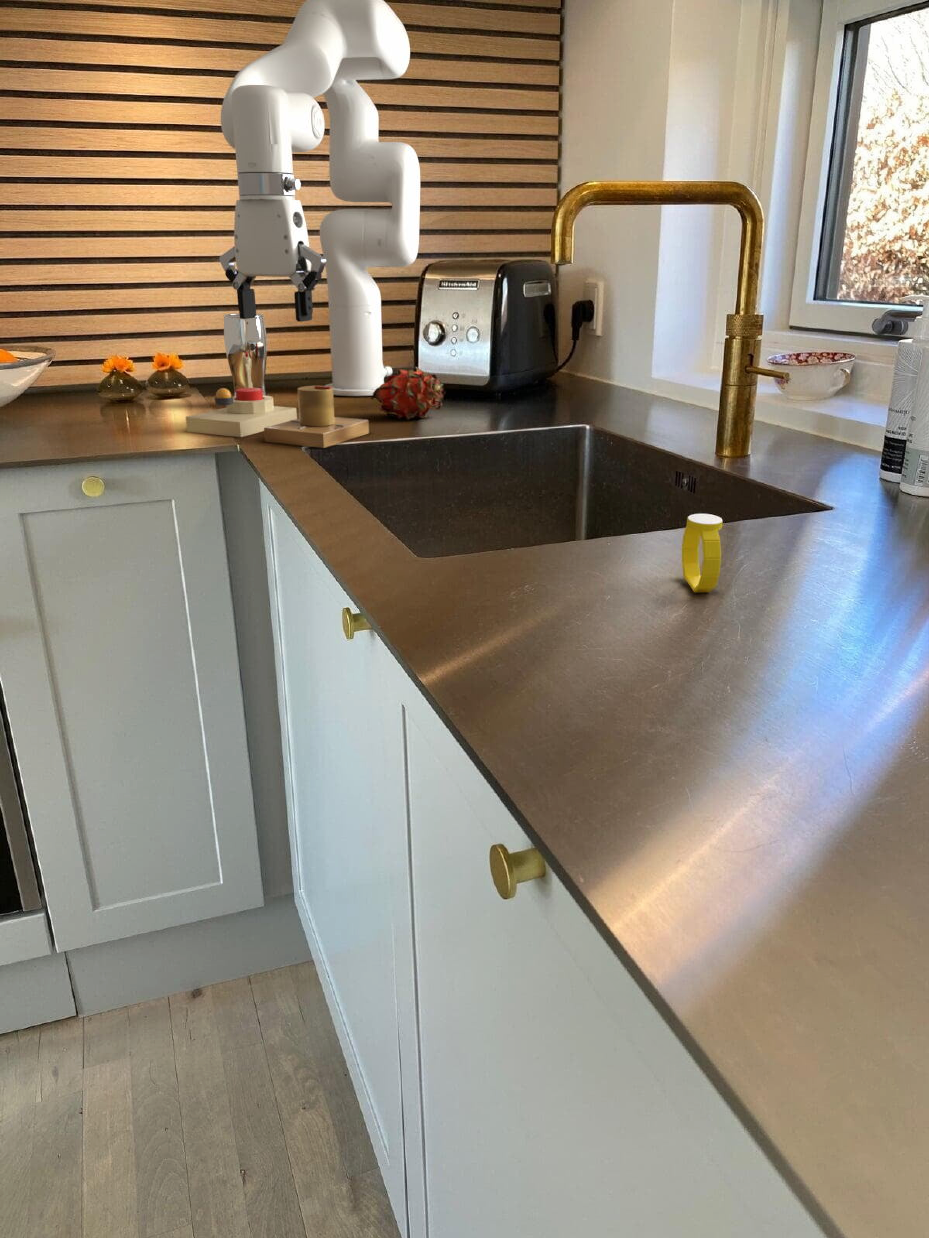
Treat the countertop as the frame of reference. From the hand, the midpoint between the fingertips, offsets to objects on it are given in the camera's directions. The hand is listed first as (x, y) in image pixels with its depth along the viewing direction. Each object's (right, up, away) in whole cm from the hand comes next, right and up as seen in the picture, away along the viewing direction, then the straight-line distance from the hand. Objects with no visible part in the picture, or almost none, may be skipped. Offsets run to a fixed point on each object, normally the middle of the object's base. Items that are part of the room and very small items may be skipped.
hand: (275, 319), depth 135 cm
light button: (-6, -10, +9) cm, 14 cm away
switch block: (-7, -14, +9) cm, 18 cm away
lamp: (-8, -11, +4) cm, 15 cm away
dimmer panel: (+6, -17, +1) cm, 18 cm away
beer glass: (-10, -7, +27) cm, 29 cm away
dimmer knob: (+6, -15, 0) cm, 16 cm away
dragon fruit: (+18, -11, +16) cm, 27 cm away
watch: (+47, -41, -57) cm, 84 cm away
